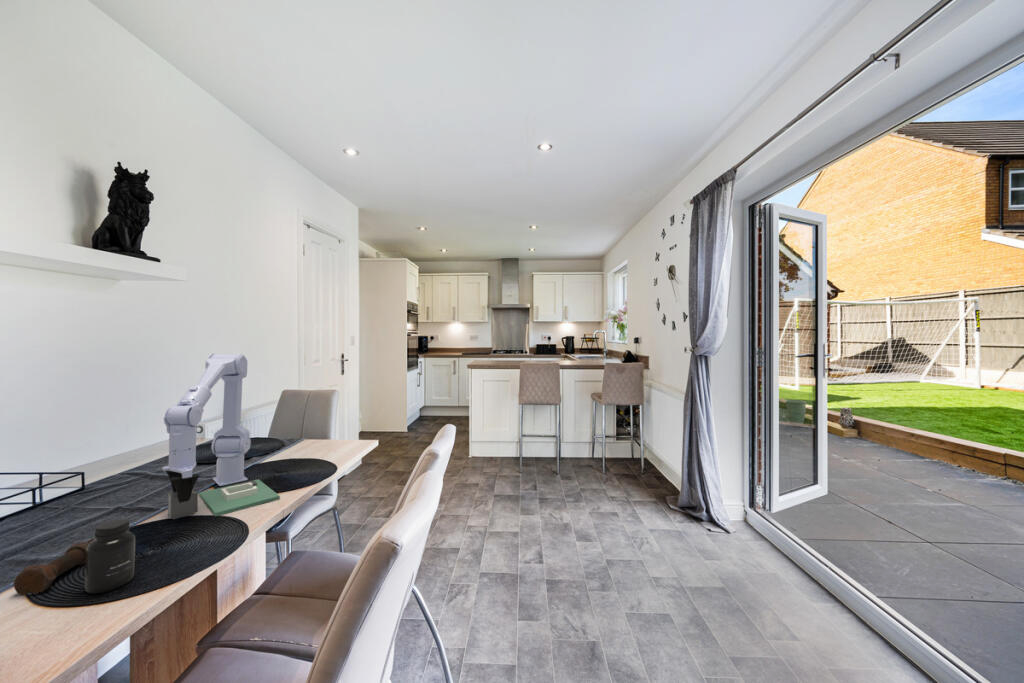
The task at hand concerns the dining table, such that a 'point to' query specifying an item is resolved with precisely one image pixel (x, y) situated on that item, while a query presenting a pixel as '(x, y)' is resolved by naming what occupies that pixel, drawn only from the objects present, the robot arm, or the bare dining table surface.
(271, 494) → the header board
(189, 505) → the plug
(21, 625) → the dining table surface
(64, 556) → the brown elongated piece
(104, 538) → the supplement bottle
